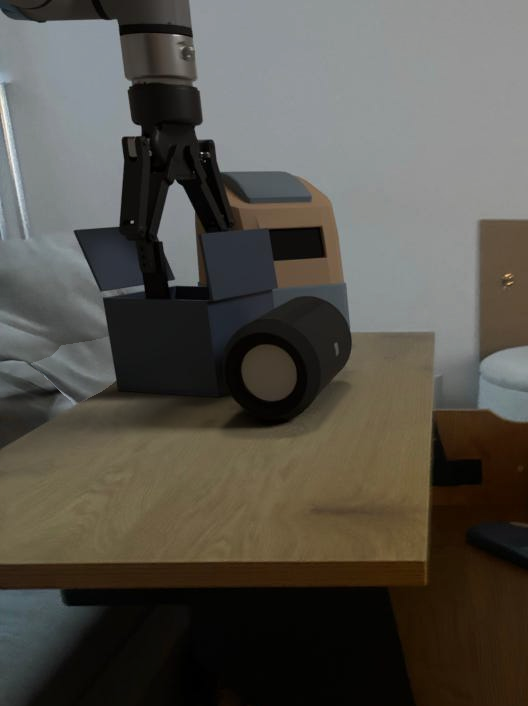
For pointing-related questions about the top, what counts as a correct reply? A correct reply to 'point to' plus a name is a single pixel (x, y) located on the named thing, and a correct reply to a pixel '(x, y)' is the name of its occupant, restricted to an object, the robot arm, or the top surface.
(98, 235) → the flap
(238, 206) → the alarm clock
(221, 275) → the carton
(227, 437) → the top surface
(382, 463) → the top surface
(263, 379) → the portable speaker
